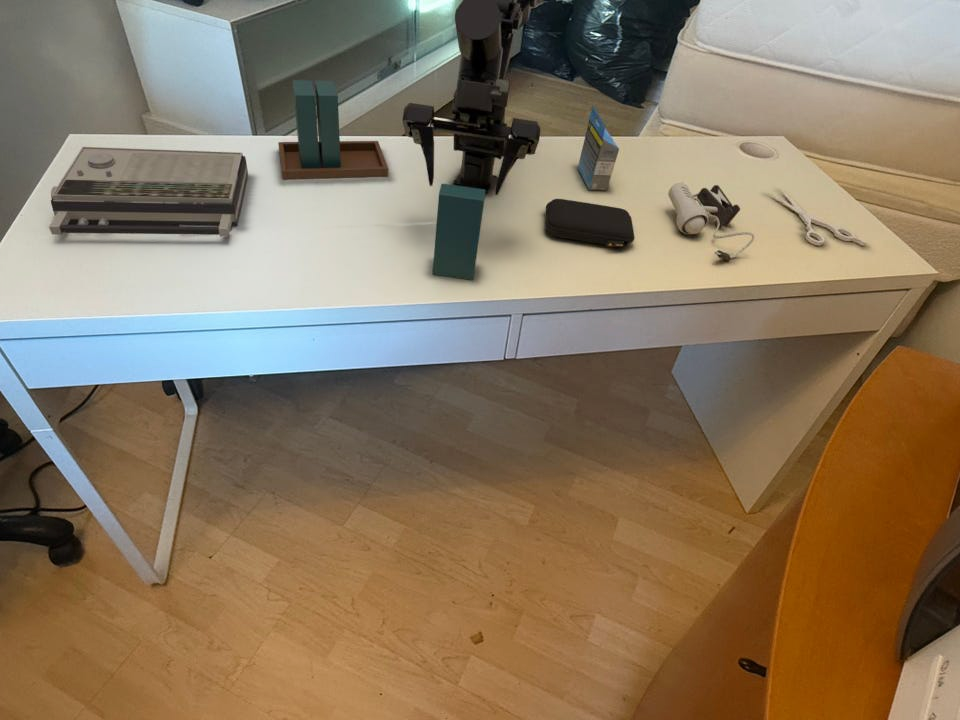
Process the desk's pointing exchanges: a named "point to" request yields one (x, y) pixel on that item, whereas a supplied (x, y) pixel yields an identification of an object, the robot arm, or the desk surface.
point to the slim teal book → (457, 231)
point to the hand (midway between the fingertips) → (463, 189)
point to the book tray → (354, 158)
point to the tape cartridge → (597, 154)
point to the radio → (149, 192)
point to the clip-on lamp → (704, 212)
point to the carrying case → (589, 222)
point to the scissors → (810, 218)
